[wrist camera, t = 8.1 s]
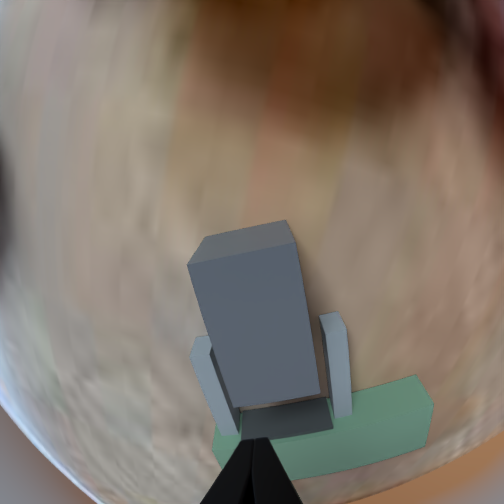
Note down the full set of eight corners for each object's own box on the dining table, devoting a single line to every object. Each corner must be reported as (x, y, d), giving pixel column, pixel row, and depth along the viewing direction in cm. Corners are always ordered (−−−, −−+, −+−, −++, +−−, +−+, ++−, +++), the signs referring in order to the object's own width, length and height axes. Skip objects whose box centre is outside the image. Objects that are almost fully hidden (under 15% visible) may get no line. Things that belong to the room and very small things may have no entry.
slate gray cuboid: (285, 219, 18) (295, 242, 13) (308, 342, 20) (320, 393, 15) (205, 236, 18) (186, 264, 13) (238, 355, 20) (233, 407, 15)
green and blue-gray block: (419, 290, 18) (444, 315, 15) (410, 417, 22) (424, 446, 18) (187, 338, 20) (175, 371, 16) (233, 454, 23) (231, 486, 19)
